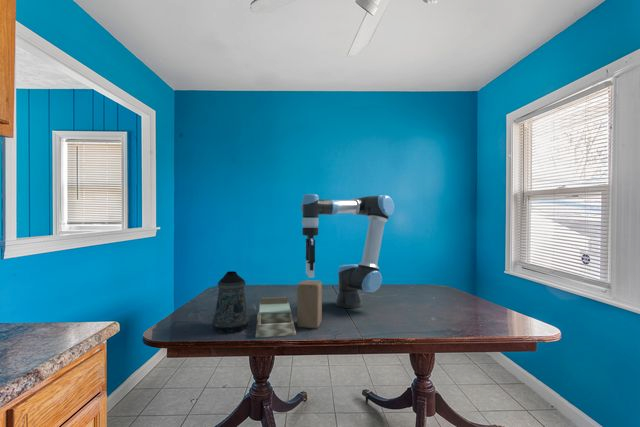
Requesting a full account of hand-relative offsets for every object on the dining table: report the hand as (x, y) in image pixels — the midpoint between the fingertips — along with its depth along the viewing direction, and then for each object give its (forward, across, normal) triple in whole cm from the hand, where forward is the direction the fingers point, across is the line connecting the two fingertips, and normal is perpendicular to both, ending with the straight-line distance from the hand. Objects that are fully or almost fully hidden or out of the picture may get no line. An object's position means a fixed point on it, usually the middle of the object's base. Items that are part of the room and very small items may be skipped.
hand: (310, 275), depth 146 cm
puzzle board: (+23, -4, -16) cm, 28 cm away
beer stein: (+23, -3, -37) cm, 44 cm away
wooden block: (+23, 0, 0) cm, 23 cm away
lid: (+18, -10, -16) cm, 26 cm away
